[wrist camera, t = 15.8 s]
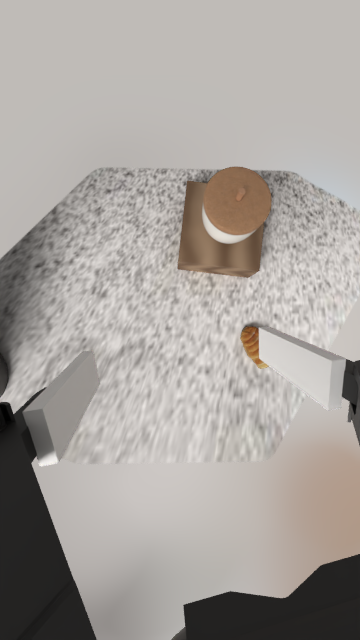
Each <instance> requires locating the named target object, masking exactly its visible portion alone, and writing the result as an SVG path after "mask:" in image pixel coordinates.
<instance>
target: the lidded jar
mask: <svg viewBox="0 0 360 640" xmlns="http://www.w3.org/2000/svg"><path fill="white" fill-rule="evenodd" d="M270 210H271V193H270V190H269V188H268V186H267V184H266V182H265V181H264V180H263V179H262V177H261V176H260V175H258V174H257V173H255V172H254V171H252V170H250V169H247V168H243V167H229V168H226V169H223V170H221V171H219V172H218V173H216V174H215V175H214V176H213V177H212V178H211V179H210V180H209V182H208V184H207V186H206V189H205V192H204V197H203V205H202V220H203V224H204V227H205V229H206V231H207V232H208V234H209V235H210V236H211V237H212V238H213V239H215V240H216V241H218V242H221V243H225V244H233V243H237V242H240V241H242V240H244V239H246V238H247V237H249V236H250V235H251V234H252V233H254V232H255V231H256V230H257V228H259V227H260V226H261V225H262V224H263V222H264V221H265V220H266V219H267V217H268V215H269V212H270Z"/></svg>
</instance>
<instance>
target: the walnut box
mask: <svg viewBox="0 0 360 640" xmlns="http://www.w3.org/2000/svg"><path fill="white" fill-rule="evenodd" d="M207 184H208V183H201V182H194V181H187V188H186V197H185V206H184V215H183V223H182V232H181V241H180V250H179V259H178V269H181V270H189V271H197V272H206V273H214V274H222V275H231V276H239V277H247V278H248V277H250V276H252V275H253V274H255V273H256V272H258V271H259V268H260V258H261V248H262V238H263V228H264V222H263V224H262V225H261V226H260V227H259V228H257V230H256V231H255V232H254V233H252V234H251V235H250V236H249V237H247V238H246V239H244V240H242V241H240V242H237V243H233V244H225V243H221V242H218V241H216V240H215V239H213V238H212V237H211V236H210V235H209V234H208V232H207V231H206V229H205V227H204V224H203V220H202V205H203V197H204V192H205V189H206V186H207Z"/></svg>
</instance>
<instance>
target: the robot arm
mask: <svg viewBox="0 0 360 640" xmlns="http://www.w3.org/2000/svg"><path fill="white" fill-rule="evenodd" d="M259 359H260V360H261V361H263V362H264V363H265V364H267V365H268V366H269V367H271V368H272V369H273V370H275V371H276V372H277V373H279V374H280V375H281V376H283V377H284V378H285V379H287V380H288V381H289V382H291V383H292V384H293V385H295V386H296V387H297V388H299V389H300V390H301V391H303V392H304V393H305V394H307V395H308V396H309V397H311V398H312V399H313V400H315V401H316V402H317V403H319V404H320V405H321V406H322V407H324V408H325V409H327V410H334V409H339V408H341V406H342V397H343V398H345V399H347V400H348V401H350V405H349V413H348V422H351V420H352V421H353V424H354V428H355V431H356V435H357V438H358V441H359V445H360V360H359V361H355V362H352V361H350V360H347V359H345V358H343V357H341V356H338V355H336V354H333V353H331V352H329V351H326V350H324V349H321V348H319V347H316V346H314V345H312V344H309V343H307V342H304V341H302V340H299V339H297V338H295V337H292V336H290V335H287V334H285V333H282V332H280V331H278V330H275V329H273V328H270V327H268V326H266V327H259ZM7 380H8V370H7V365H6V362H5V360H4V358H3V356H2V355H1V354H0V396H1V395H2V393H3V392H4V390H5V387H6V384H7ZM99 385H100V380H99V376H98V371H97V366H96V361H95V357H94V352H93V350H91V351H84V352H82V353H81V354H80V355H79V356H78V357H77V358H76V359H75V360H74V361H73V362H72V363H71V364H70V365H69V366H68V367H67V368H66V369H65V370H64V371H63V372H62V373H61V374H60V375H59V376H58V377H57V378H56V379H55V380H54V381H53V382H52V383H51V384H50V385H49V386H48V387H46V388H43V389H42V390H40V391H39V392H37V393H36V394H35V395H33V396H32V397H31V398H30V399H29V401H27V402H26V403H25V404H24V406H22V407H21V408H20V409H19V410H18V411H17V412H16V413H15V414H14V415H13V412H12V409H11V406H10V404H9V403H8V402H0V640H96V637H95V634H94V631H93V629H92V626H91V623H90V621H89V618H88V615H87V612H86V610H85V607H84V604H83V602H82V599H81V596H80V594H79V591H78V588H77V586H76V583H75V581H74V579H73V577H72V574H71V571H70V568H69V566H68V563H67V560H66V557H65V555H64V552H63V550H62V546H61V544H60V541H59V538H58V536H57V533H56V530H55V528H54V525H53V522H52V519H51V517H50V514H49V511H48V508H47V505H46V503H45V500H44V497H43V494H42V492H41V489H40V486H39V484H38V481H37V478H36V475H35V473H34V470H33V467H32V464H31V463H32V461H33V460H34V458H35V457H36V456H37V459H38V462H39V465H40V466H45V465H51V464H56V463H59V461H60V459H61V457H62V455H63V454H64V452H65V450H66V448H67V446H68V444H69V442H70V440H71V438H72V436H73V434H74V433H75V431H76V429H77V427H78V425H79V423H80V421H81V419H82V417H83V415H84V413H85V411H86V410H87V408H88V406H89V404H90V402H91V400H92V398H93V396H94V394H95V392H96V390H97V389H98V387H99ZM184 616H185V627H184V628H183V629H182V630H181V631H180V632H179V633H178V634H176V635H175V636H174V637H173V638H172V640H360V554H358V555H355V556H351V557H348V558H344V559H341V560H338V561H334V562H331V563H327V564H324V565H321V566H320V567H319V568H318V569H317V570H316V571H314V572H313V573H312V574H311V575H310V576H309V577H308V578H307V579H306V580H305V581H304V582H303V583H302V584H301V585H300V586H299V587H298V588H297V589H296V590H295V591H294V592H293V593H291V594H290V595H289V596H288V597H286V598H274V597H267V596H260V595H253V594H246V593H238V592H231V591H230V592H227V593H223V594H220V595H216V596H213V597H210V598H206V599H202V600H199V601H195V602H192V603H188V604H185V605H184Z"/></svg>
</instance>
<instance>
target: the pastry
mask: <svg viewBox="0 0 360 640" xmlns="http://www.w3.org/2000/svg"><path fill="white" fill-rule="evenodd" d="M240 339H241V341H242V343H243V347H244V349H245V351H246V353H247V355H248V356H249V357H250V358H251V359H252V360H253V361H254V363H255V364H256V365H257V366H258V368H260V369H263V368H267V367H269V366H268V365H267V364H265V363H264V362H263V361H261V360H260V359H259V329H258V328H256V327H249V326H248V327H245V328H244V329H243V330H242V333H241V338H240Z"/></svg>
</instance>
